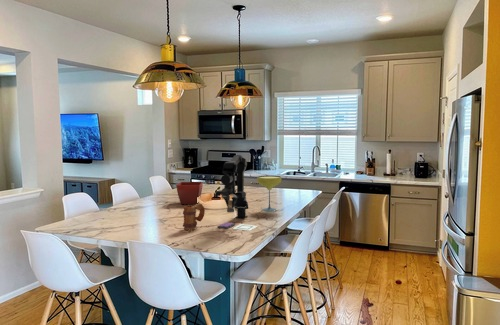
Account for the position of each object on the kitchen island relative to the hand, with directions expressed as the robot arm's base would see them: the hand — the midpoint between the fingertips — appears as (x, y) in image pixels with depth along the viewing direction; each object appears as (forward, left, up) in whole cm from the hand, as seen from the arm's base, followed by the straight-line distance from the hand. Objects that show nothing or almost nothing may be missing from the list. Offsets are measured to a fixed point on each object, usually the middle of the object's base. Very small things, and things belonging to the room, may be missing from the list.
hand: (230, 207), depth 227 cm
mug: (+12, -19, -12) cm, 26 cm away
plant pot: (-57, -67, -12) cm, 89 cm away
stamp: (0, 0, -2) cm, 3 cm away
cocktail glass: (-56, +4, -12) cm, 57 cm away
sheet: (-2, +9, -12) cm, 15 cm away
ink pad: (0, -3, -12) cm, 12 cm away
